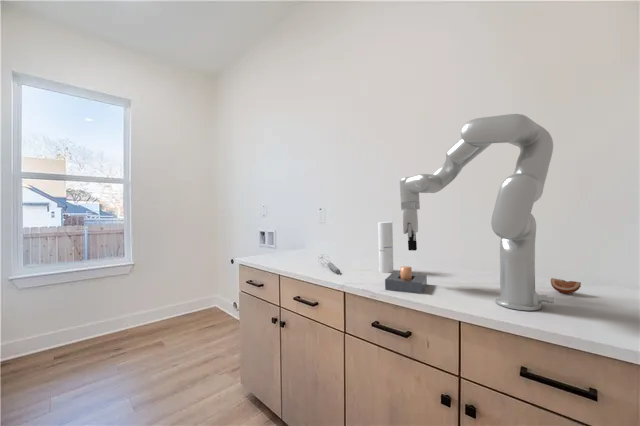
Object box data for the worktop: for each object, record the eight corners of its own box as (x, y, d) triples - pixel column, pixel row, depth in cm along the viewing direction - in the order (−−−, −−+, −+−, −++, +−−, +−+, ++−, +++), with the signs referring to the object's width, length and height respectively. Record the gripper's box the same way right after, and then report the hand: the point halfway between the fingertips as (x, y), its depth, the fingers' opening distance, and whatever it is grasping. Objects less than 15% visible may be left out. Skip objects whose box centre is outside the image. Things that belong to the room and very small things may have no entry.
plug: (412, 286, 121) (412, 266, 121) (411, 288, 117) (410, 268, 117) (402, 285, 123) (401, 266, 123) (400, 287, 119) (399, 268, 119)
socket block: (426, 284, 123) (426, 274, 123) (422, 293, 111) (421, 282, 110) (393, 281, 129) (393, 272, 129) (385, 289, 117) (385, 279, 117)
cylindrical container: (393, 272, 146) (392, 222, 145) (379, 272, 147) (377, 222, 147) (393, 269, 153) (392, 221, 152) (379, 269, 154) (378, 222, 154)
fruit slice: (582, 294, 105) (582, 280, 105) (579, 298, 101) (579, 283, 101) (552, 289, 111) (552, 276, 111) (549, 293, 107) (548, 279, 107)
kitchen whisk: (333, 276, 143) (333, 263, 143) (316, 264, 176) (316, 253, 176) (345, 275, 145) (345, 262, 144) (326, 263, 177) (326, 252, 177)
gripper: (404, 207, 131) (406, 248, 131) (397, 207, 118) (400, 252, 118) (421, 206, 128) (424, 248, 128) (417, 205, 115) (419, 252, 114)
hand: (412, 250), depth 123 cm, fingers closed
